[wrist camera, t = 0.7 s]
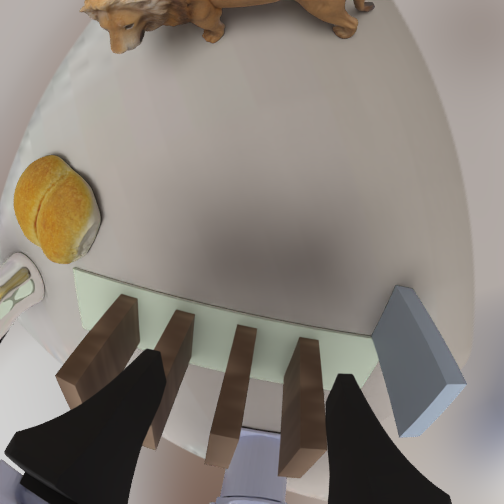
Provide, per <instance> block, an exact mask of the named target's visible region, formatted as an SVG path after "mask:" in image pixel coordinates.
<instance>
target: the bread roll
mask: <svg viewBox="0 0 504 504" xmlns="http://www.w3.org/2000/svg"><path fill="white" fill-rule="evenodd" d="M14 210H15V215H16V218H17V220H18V223H19V225H20V227H21V229H22V231H23V233H24V235H25V236H26V237H27V238H28V239H29V240H30V241H31V242H32V243H34V244H35V245H37V246H39V247H41V248H42V250H43V252H44V254H45V255H46V256H47V258H48V259H50V260H51V261H53V262H56V263H59V264H69V263H71V262H74V261H76V260H78V259H79V258H81V257H83V256H85V255H86V253H87V252H88V250H89V249H90V247H91V245H92V243H93V242H94V239H95V237H96V234H97V232H98V229H99V226H100V222H101V217H100V212H99V208H98V205H97V202H96V199H95V197H94V194H93V191H92V189H91V187H90V186H89V184H88V183H87V182H86V181H85V180H84V179H83V178H82V177H81V176H80V175H79V174H77V173H76V172H75V171H73V170H72V169H71V168H70V166H69V165H68V164H67V163H66V162H64V161H63V160H62V159H61V158H59V157H58V156H55V155H49V156H45V157H42V158H40V159H38V160H36V161H34V162H33V163H31V164H30V165H29V166H28V167H27V168H26V170H25V171H24V172H23V173H22V175H21V177H20V178H19V181H18V183H17V186H16V189H15V193H14Z"/></svg>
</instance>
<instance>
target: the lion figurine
mask: <svg viewBox="0 0 504 504" xmlns="http://www.w3.org/2000/svg"><path fill="white" fill-rule="evenodd" d="M277 1H279V0H85V2H84V3H85V5H84V6H83V7H82V8H81V9H80V12H85V13H86V14H88V15H89V16H90V18H92V19H94V20H97V21H98V22H99V23H100V26H101V27H102V28H103V29H105V30H107V31H108V32H109V34H110V44H111V50H112V51H113V52H114V53H117V54H121V53H124V52H126V51H127V50H132V49H135V48H136V47H137V46H138V45H140V44H141V42H142V39H143V37H144V33H145V31H153V30H155V29H157V28H158V27H160V26H162V25H166V26H168V25H169V26H176V25H181V24H186V23H188V22H192V23H193V24H195V25H197V26H198V27H201V28H203V29H204V33H203V35H202V37H203V38H205V40H206V41H207V42H211V43H215V42H217V41H218V40H219V39H220V38H221V37H222V36H223V34H224V28H225V25H224V24H223V23H222V22H221V21H220V16H221V15H222V8H233V7H247V6H254V5H262V4H268V3H273V2H277ZM295 1H297V2H298V3H299V4H301V5H302V6H303V7H304V9H305V10H306V11H308V12H309V13H311V14H312V15H314V16H315V17H317V18H319V19H320V20H322V21H325V22H328V23H331V24H335V26H334V27H333V31H334V32H335V34H336V35H337V36H339V37H340V38H349V37H351V36H353V35H354V33H355V32H356V29H357V26H358V20H357V19H356V18H354V17H351V16H350V15H349V14H348V13H347V12H346V10H345V1H346V0H295ZM353 1H354V5H355V7H356V8H357V9H358V10H360V11H366V12H369V11H370V10H373V9H374V7H375V6H374V4H373V2H364V1H365V0H353Z"/></svg>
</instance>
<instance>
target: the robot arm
mask: <svg viewBox="0 0 504 504" xmlns="http://www.w3.org/2000/svg"><path fill="white" fill-rule="evenodd" d="M166 383H167V381H166V376H165V372H164V367H163V362H162V357H161V352H160V351H157V350H152V349H148V348H147V349H145V350H144V351H143V352H142V353H141V354H140V355H139V356H138V357H137V358H136V359H135V360H134V361H133V362H132V363H131V364H130V365H129V366H127V367H126V368H125V369H124V370H123V371H122V372H121V373H120V374H119V375H118V376H116V377H115V378H114V379H113V380H112V381H111V382H110V383H108V384H107V385H106V386H105V387H103V388H102V389H101V390H100V391H98V392H97V393H96V394H94V395H93V396H92V397H90V398H89V399H87V400H86V401H85V402H83V403H81V404H80V405H78V406H77V407H75V408H73V409H72V410H70V411H68V412H66V413H65V414H63V415H61V416H59V417H57V418H54V419H52V420H50V421H47V422H45V423H43V424H40V425H38V426H35V427H32V428H28V429H25V430H22V431H18V432H16V433H15V435H14V436H13V438H12V440H11V441H10V443H9V445H8V446H7V448H6V450H5V455H6V456H7V457H9V459H11V460H12V461H13V462H14V463H15V464H17V465H18V466H19V467H20V468H21V469H23V470H24V471H25V473H24V475H21V474H20V473H19V472H18V471H16V470H15V469H14V468H12V467H11V466H10V465H8V464H7V463H6V462H5V461H3V460H0V504H128V498H129V493H130V488H131V483H132V479H133V475H134V471H135V467H136V464H137V460H138V457H139V453H140V450H141V447H142V444H143V442H144V439H145V437H146V435H147V432H148V430H149V428H150V426H151V423H152V421H153V419H154V417H155V414H156V412H157V410H158V407H159V405H160V403H161V400H162V397H163V393H164V390H165V386H166ZM325 425H326V436H327V446H328V457H329V471H330V479H329V496H328V504H452V502H451V499H450V496H449V495H448V494H447V493H445V492H444V491H442V490H441V489H439V488H438V487H436V486H435V485H434V484H433V483H432V482H430V481H429V480H428V479H427V478H426V477H425V476H423V475H422V474H421V473H420V472H419V471H418V470H417V469H416V468H415V467H414V466H413V465H412V464H411V463H410V462H409V461H408V460H407V459H406V457H405V456H404V455H403V454H402V453H401V452H400V450H399V449H398V448H397V447H396V445H395V444H394V443H393V441H392V440H391V439H390V437H389V436H388V435H387V433H386V432H385V430H384V429H383V427H382V426H381V424H380V422H379V421H378V419H377V418H376V416H375V414H374V412H373V411H372V409H371V407H370V406H369V404H368V402H367V400H366V398H365V397H364V395H363V393H362V391H361V389H360V387H359V385H358V383H357V381H356V379H355V377H354V375H353V374H342V373H338V374H337V377H336V379H335V382H334V384H333V387H332V389H331V391H330V394H329V396H328V398H327V400H326V414H325ZM280 435H281V434H278V433H271V432H264V431H258V430H252V429H247V428H241V433H240V438H239V442H238V444H237V447H236V450H235V452H234V455H233V457H232V460H231V463H230V465H229V468H228V469H226V470H225V476H224V480H223V486H222V490H221V496H220V497H217V499H216V503H214V502H211V503H209V504H287V503H285V495H286V481H287V477H279V476H278V464H279V450H280Z"/></svg>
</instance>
